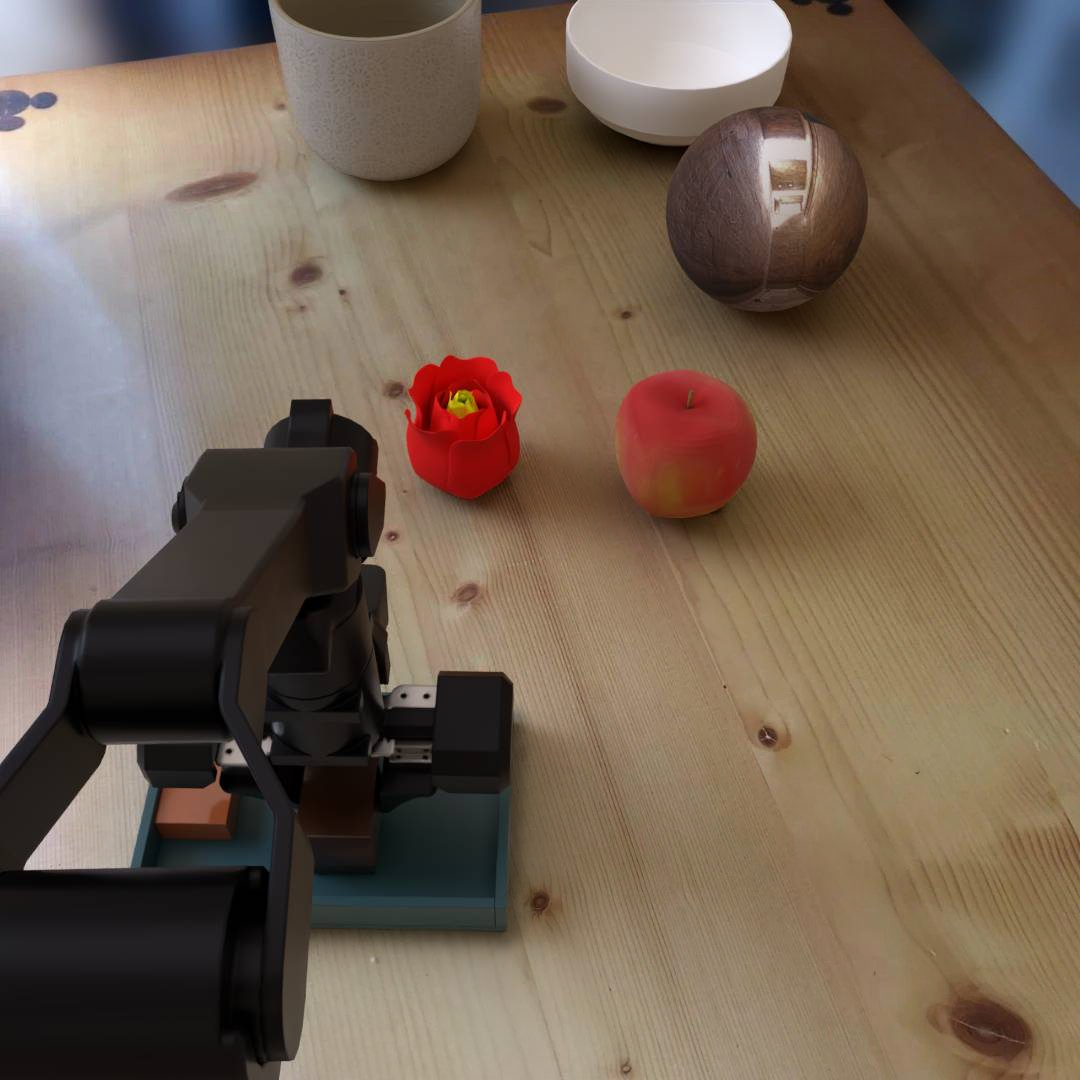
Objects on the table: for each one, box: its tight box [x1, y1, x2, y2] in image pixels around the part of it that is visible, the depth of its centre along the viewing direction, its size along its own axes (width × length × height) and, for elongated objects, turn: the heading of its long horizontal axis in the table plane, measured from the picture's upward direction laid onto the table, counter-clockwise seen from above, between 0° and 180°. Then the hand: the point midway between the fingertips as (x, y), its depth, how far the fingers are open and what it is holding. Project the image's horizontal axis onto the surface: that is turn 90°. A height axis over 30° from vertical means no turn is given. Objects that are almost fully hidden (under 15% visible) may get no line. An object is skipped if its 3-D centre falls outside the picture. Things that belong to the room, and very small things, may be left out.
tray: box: [129, 691, 515, 932], centre depth 74 cm, size 20×13×3 cm, turn 89°
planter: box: [267, 0, 483, 182], centre depth 110 cm, size 17×17×15 cm
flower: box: [404, 354, 523, 500], centre depth 88 cm, size 8×8×8 cm
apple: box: [613, 369, 758, 519], centre depth 86 cm, size 10×10×10 cm
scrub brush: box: [297, 757, 384, 874], centre depth 72 cm, size 4×8×5 cm, turn 179°
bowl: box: [565, 0, 793, 147], centre depth 116 cm, size 20×20×8 cm
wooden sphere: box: [665, 105, 869, 313], centre depth 98 cm, size 15×15×15 cm
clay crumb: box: [155, 761, 241, 840], centre depth 74 cm, size 4×4×2 cm
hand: (348, 804), depth 74 cm, fingers closed on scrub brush, 4 cm apart
